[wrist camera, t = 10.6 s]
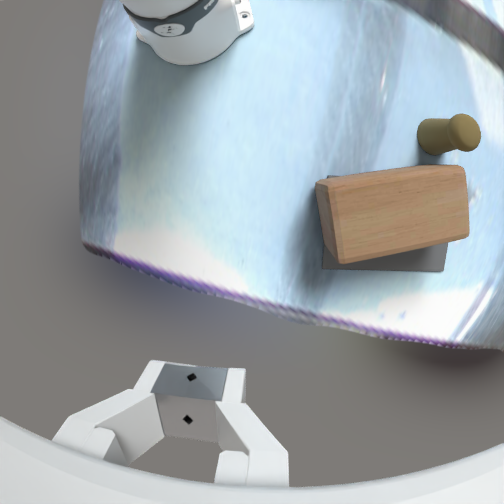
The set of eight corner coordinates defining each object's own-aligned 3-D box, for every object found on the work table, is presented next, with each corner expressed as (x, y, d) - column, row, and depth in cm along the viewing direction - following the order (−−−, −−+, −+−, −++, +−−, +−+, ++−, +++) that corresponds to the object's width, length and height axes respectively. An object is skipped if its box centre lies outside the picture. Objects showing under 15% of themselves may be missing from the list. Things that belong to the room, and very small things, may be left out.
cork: (437, 113, 39) (475, 104, 28) (452, 147, 40) (492, 146, 29) (411, 125, 40) (447, 116, 29) (426, 160, 41) (465, 161, 30)
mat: (327, 175, 43) (328, 175, 42) (452, 189, 42) (453, 189, 41) (321, 268, 46) (322, 268, 46) (442, 270, 45) (443, 271, 45)
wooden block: (312, 180, 43) (432, 163, 41) (323, 247, 45) (438, 225, 43) (324, 183, 33) (467, 164, 31) (337, 268, 35) (472, 239, 33)
